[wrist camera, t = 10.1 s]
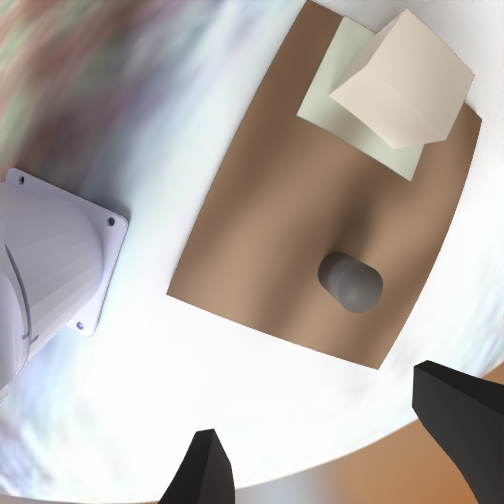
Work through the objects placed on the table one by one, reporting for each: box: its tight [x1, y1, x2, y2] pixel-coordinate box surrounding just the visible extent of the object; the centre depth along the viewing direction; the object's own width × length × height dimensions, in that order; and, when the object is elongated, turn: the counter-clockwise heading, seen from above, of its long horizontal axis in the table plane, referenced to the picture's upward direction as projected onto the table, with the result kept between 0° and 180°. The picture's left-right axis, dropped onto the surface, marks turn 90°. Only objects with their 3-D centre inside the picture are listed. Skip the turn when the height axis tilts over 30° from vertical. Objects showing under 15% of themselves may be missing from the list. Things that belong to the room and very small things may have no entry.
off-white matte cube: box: [329, 8, 475, 149], centre depth 14 cm, size 5×5×5 cm
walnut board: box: [166, 0, 482, 370], centre depth 16 cm, size 15×20×4 cm
